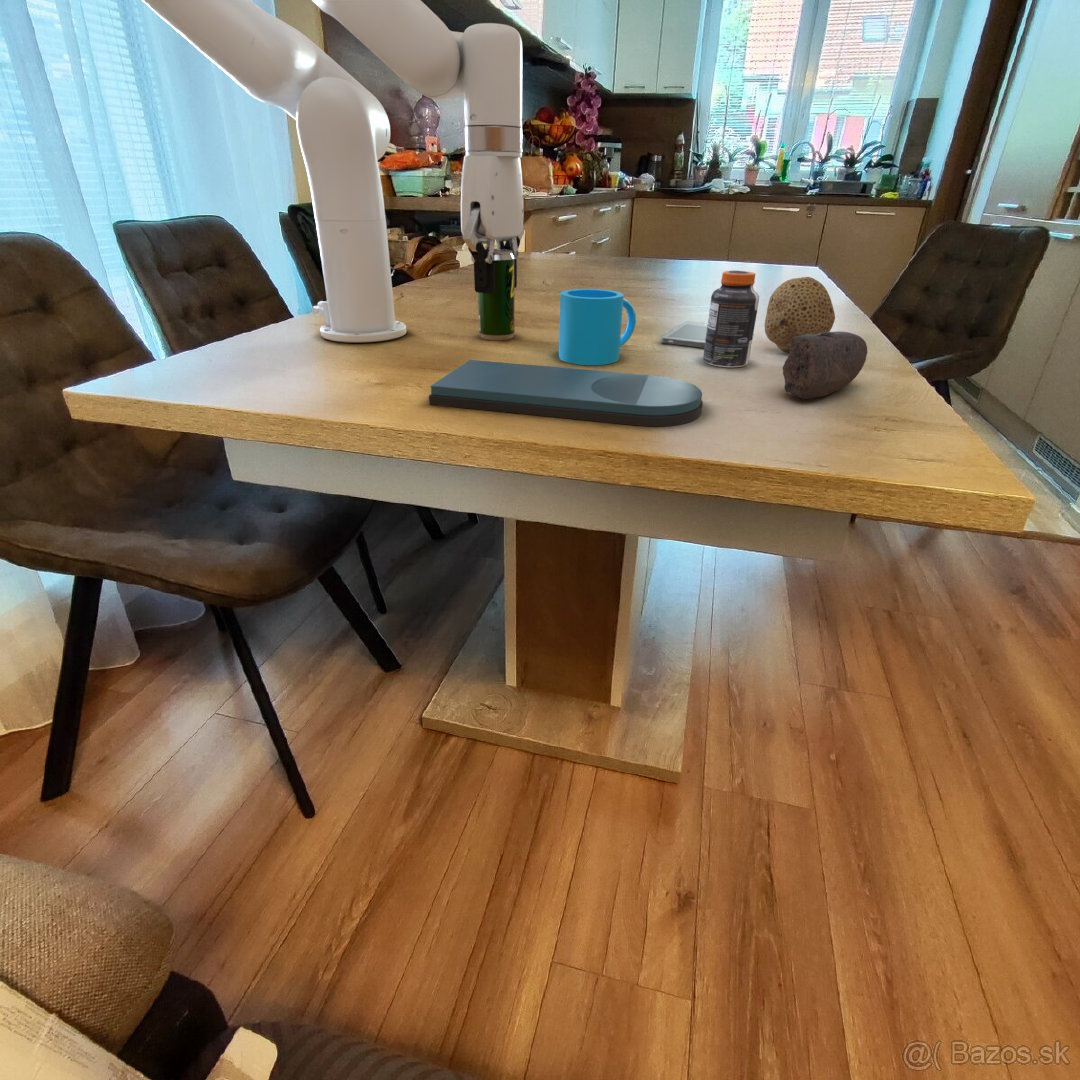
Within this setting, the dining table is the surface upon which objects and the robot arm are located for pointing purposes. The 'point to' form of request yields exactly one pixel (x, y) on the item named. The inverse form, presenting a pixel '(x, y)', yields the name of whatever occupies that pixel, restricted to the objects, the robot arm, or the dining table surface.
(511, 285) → the beer can
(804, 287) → the natural sponge
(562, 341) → the mug
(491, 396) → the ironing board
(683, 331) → the smartphone
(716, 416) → the dining table surface
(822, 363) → the rock
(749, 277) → the pill bottle
